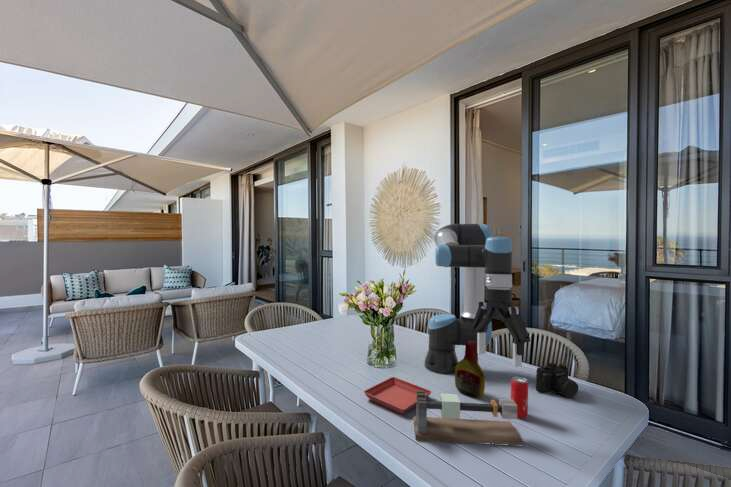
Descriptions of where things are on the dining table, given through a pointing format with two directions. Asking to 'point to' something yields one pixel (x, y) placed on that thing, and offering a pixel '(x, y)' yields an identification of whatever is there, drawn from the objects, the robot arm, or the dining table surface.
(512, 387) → the beverage can
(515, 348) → the robot arm
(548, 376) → the camera
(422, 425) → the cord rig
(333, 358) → the dining table surface
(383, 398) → the plant saucer
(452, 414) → the sleeve
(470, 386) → the bottle
